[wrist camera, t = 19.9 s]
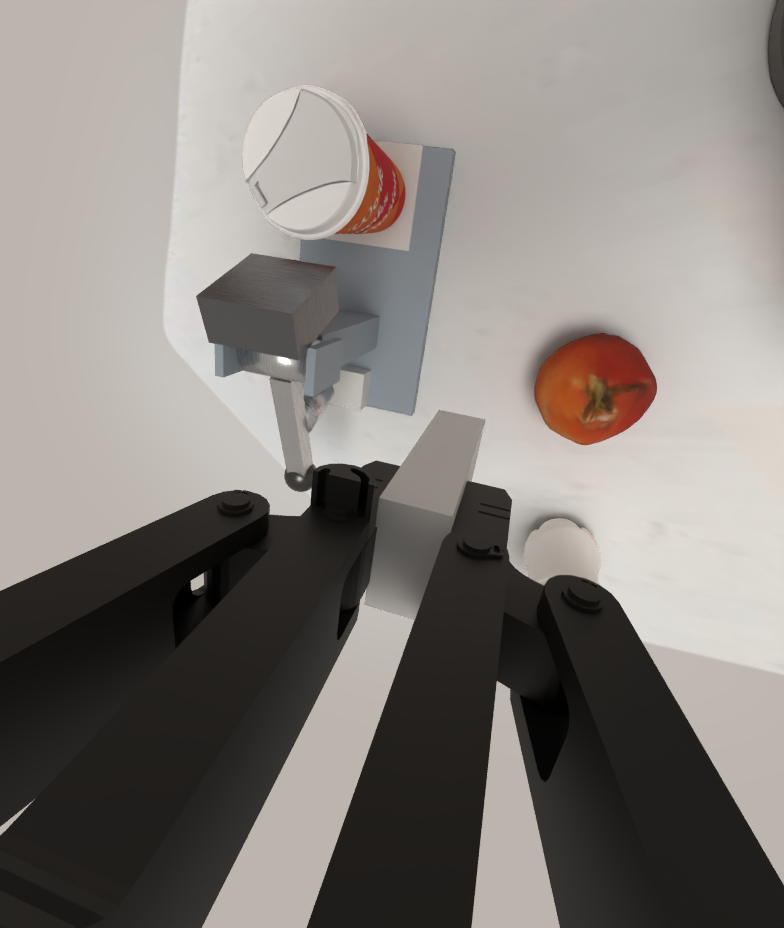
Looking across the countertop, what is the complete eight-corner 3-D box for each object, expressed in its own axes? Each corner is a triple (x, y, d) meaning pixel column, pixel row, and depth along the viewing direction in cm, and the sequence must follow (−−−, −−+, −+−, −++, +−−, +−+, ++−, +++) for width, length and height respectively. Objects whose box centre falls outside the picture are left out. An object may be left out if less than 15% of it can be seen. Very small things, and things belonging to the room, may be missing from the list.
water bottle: (563, 497, 49) (585, 691, 27) (612, 546, 50) (673, 775, 27) (510, 536, 52) (489, 738, 30) (556, 582, 53) (569, 813, 30)
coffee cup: (359, 265, 45) (283, 265, 31) (311, 179, 43) (209, 141, 30) (438, 209, 41) (389, 183, 28) (389, 114, 40) (313, 37, 26)
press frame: (312, 137, 43) (159, 51, 26) (455, 152, 41) (393, 67, 23) (298, 387, 53) (180, 448, 35) (414, 412, 50) (348, 491, 33)
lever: (267, 241, 34) (196, 296, 28) (348, 253, 32) (292, 313, 27) (297, 439, 47) (254, 504, 41) (356, 453, 45) (320, 522, 40)
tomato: (518, 404, 47) (515, 430, 40) (564, 312, 43) (569, 321, 36) (610, 443, 46) (623, 476, 39) (666, 352, 42) (692, 370, 35)
